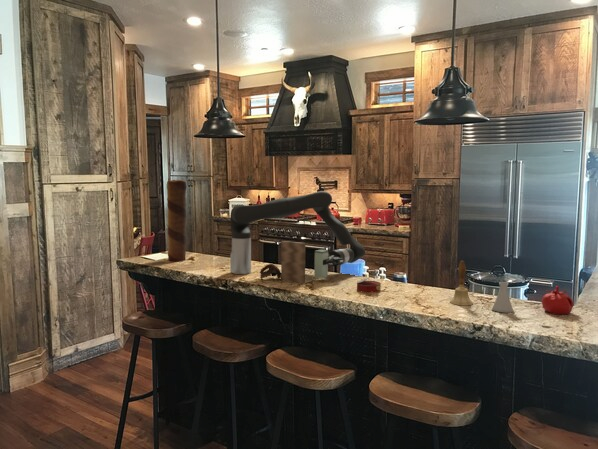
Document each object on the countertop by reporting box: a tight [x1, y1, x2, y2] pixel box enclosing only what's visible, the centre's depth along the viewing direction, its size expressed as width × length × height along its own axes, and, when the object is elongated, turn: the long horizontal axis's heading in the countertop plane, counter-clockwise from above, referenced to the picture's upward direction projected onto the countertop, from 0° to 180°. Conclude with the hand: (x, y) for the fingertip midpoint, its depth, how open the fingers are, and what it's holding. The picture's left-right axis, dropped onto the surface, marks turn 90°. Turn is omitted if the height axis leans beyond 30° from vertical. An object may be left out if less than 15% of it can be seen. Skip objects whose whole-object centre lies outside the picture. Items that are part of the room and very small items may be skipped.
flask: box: [491, 281, 514, 314], centre depth 170 cm, size 7×7×10 cm
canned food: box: [356, 271, 382, 294], centre depth 201 cm, size 11×10×10 cm
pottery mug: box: [259, 263, 281, 280], centre depth 221 cm, size 12×10×8 cm
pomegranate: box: [541, 285, 574, 315], centre depth 168 cm, size 10×10×9 cm
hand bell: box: [449, 260, 474, 307], centre depth 180 cm, size 8×8×16 cm
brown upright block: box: [280, 240, 314, 285], centre depth 217 cm, size 12×9×18 cm
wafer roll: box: [166, 179, 187, 262], centre depth 269 cm, size 10×11×45 cm
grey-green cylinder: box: [313, 249, 329, 279], centre depth 217 cm, size 4×5×12 cm
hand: (319, 262), depth 216 cm, fingers closed on grey-green cylinder, 4 cm apart
